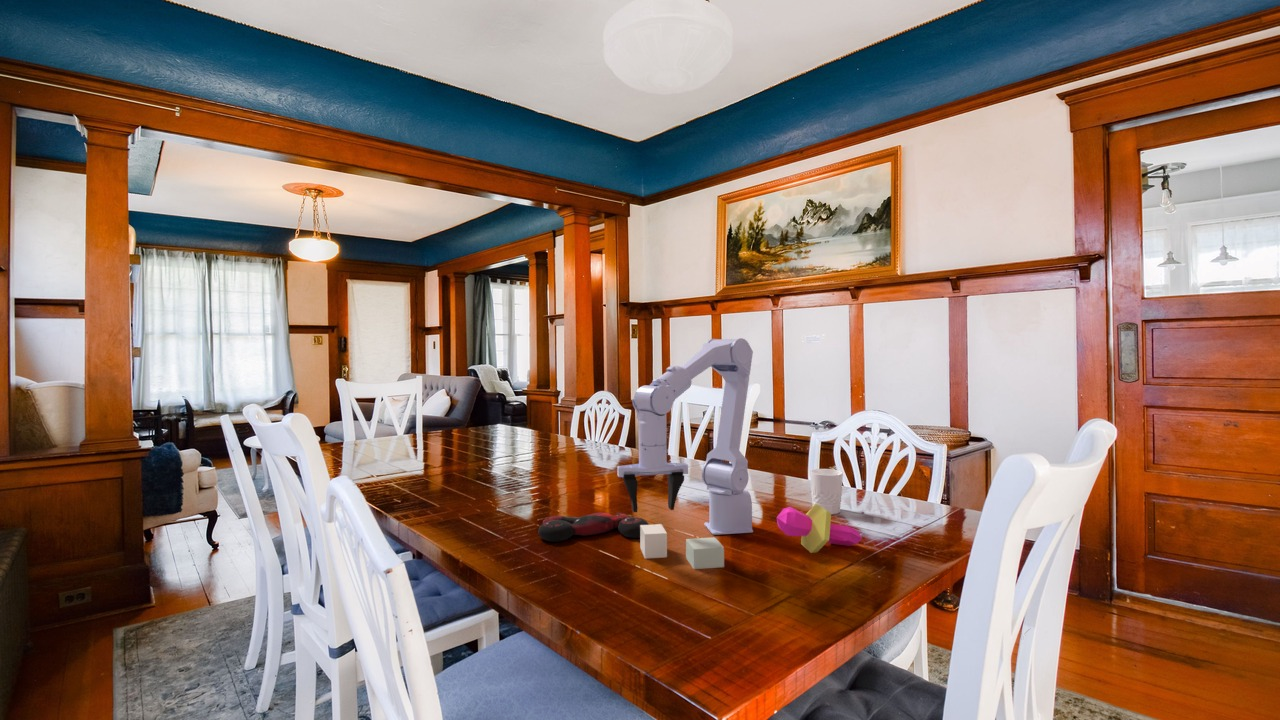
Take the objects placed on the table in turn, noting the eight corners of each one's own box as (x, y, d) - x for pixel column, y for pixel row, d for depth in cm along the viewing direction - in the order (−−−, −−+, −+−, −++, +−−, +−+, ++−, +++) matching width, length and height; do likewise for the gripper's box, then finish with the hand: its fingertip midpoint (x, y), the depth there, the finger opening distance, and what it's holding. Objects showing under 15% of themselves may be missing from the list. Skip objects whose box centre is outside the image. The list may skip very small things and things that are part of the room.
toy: (868, 563, 116) (870, 511, 120) (784, 540, 114) (789, 488, 118) (841, 565, 125) (845, 517, 129) (763, 545, 123) (769, 496, 127)
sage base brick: (714, 556, 118) (714, 537, 118) (724, 567, 112) (724, 547, 112) (686, 558, 117) (686, 539, 117) (693, 570, 111) (693, 549, 111)
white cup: (849, 512, 148) (849, 473, 148) (827, 517, 144) (827, 476, 144) (825, 505, 155) (825, 467, 155) (803, 509, 151) (803, 470, 151)
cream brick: (661, 547, 124) (661, 524, 123) (667, 557, 118) (666, 533, 118) (640, 548, 123) (640, 525, 123) (644, 559, 117) (644, 534, 117)
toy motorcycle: (652, 545, 129) (643, 513, 145) (652, 523, 128) (642, 494, 144) (538, 554, 126) (541, 521, 142) (537, 532, 125) (540, 501, 141)
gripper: (681, 439, 125) (681, 502, 125) (614, 442, 122) (615, 506, 123) (690, 445, 118) (691, 511, 118) (620, 447, 115) (620, 516, 116)
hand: (653, 509), depth 120 cm, fingers open, 7 cm apart
